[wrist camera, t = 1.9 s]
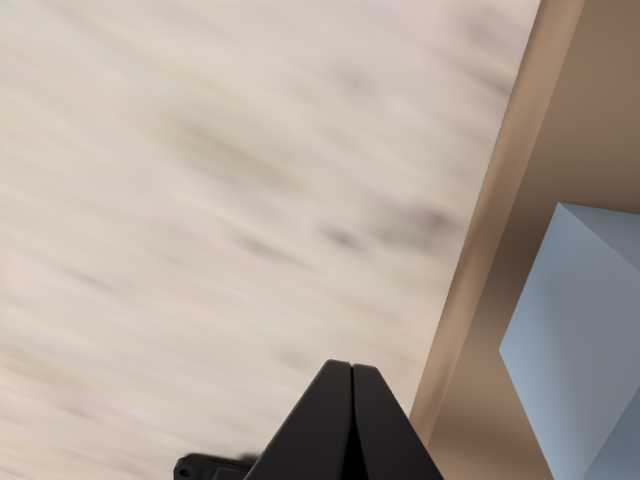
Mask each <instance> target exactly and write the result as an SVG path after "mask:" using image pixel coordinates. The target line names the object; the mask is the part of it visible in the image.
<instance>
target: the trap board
mask: <svg viewBox="0 0 640 480" xmlns="http://www.w3.org/2000/svg"><path fill="white" fill-rule="evenodd" d="M558 202H562V203H568V204H575V205H581V206H587V207H594V208H600V209H606V210H613V211H619V212H625V213H632V214H638V215H640V0H541V2H540V5H539V9H538V12H537V15H536V18H535V21H534V24H533V28H532V31H531V34H530V37H529V40H528V43H527V47H526V50H525V53H524V56H523V59H522V62H521V66H520V69H519V72H518V75H517V78H516V81H515V85H514V88H513V91H512V94H511V97H510V100H509V104H508V107H507V110H506V113H505V116H504V119H503V122H502V126H501V129H500V132H499V135H498V138H497V141H496V145H495V148H494V151H493V154H492V157H491V160H490V164H489V167H488V170H487V173H486V176H485V179H484V183H483V186H482V189H481V192H480V195H479V198H478V202H477V205H476V208H475V211H474V214H473V217H472V221H471V224H470V227H469V230H468V233H467V236H466V240H465V243H464V246H463V249H462V252H461V255H460V259H459V262H458V265H457V268H456V271H455V274H454V278H453V281H452V284H451V287H450V290H449V293H448V297H447V300H446V303H445V306H444V309H443V312H442V316H441V319H440V322H439V325H438V328H437V331H436V335H435V338H434V341H433V344H432V347H431V350H430V354H429V357H428V360H427V363H426V366H425V369H424V373H423V376H422V379H421V382H420V385H419V388H418V391H417V395H416V398H415V401H414V404H413V407H412V410H411V414H410V417H409V421H410V423H411V425H412V426H413V428H414V430H415V431H416V433H417V435H418V436H419V438H420V440H421V441H422V443H423V445H424V446H425V448H426V450H427V451H428V453H429V454H430V456H431V458H432V459H433V461H434V463H435V464H436V466H437V468H438V469H439V471H440V473H441V474H442V476H443V478H444V479H445V480H554V478H553V475H552V473H551V471H550V468H549V466H548V464H547V461H546V459H545V457H544V454H543V452H542V450H541V447H540V445H539V443H538V440H537V438H536V436H535V433H534V431H533V429H532V426H531V424H530V422H529V419H528V417H527V415H526V412H525V410H524V408H523V405H522V403H521V401H520V398H519V396H518V394H517V391H516V389H515V387H514V384H513V382H512V380H511V377H510V375H509V373H508V370H507V368H506V366H505V363H504V361H503V359H502V356H501V354H500V352H499V348H500V345H501V343H502V340H503V338H504V335H505V333H506V330H507V328H508V325H509V323H510V320H511V318H512V315H513V313H514V311H515V308H516V306H517V303H518V301H519V298H520V296H521V293H522V291H523V288H524V286H525V283H526V281H527V278H528V276H529V273H530V271H531V268H532V266H533V264H534V261H535V259H536V256H537V254H538V251H539V249H540V246H541V244H542V241H543V239H544V236H545V234H546V231H547V229H548V226H549V224H550V221H551V219H552V216H553V214H554V212H555V209H556V207H557V204H558Z"/></svg>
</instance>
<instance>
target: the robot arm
mask: <svg viewBox="0 0 640 480" xmlns="http://www.w3.org/2000/svg"><path fill="white" fill-rule="evenodd" d="M174 480H445V479H444V478H443V476H442V474H441V473H440V471H439V469H438V468H437V466H436V464H435V463H434V461H433V459H432V458H431V456H430V454H429V453H428V451H427V450H426V448H425V446H424V445H423V443H422V441H421V440H420V438H419V436H418V435H417V433H416V431H415V430H414V428H413V426H412V425H411V423H410V421H409V420H408V418H407V416H406V415H405V413H404V411H403V410H402V408H401V407H400V405H399V403H398V402H397V400H396V398H395V397H394V395H393V393H392V392H391V390H390V388H389V387H388V385H387V383H386V382H385V380H384V378H383V377H382V375H381V373H380V372H379V370H378V369H377V368H376V367H374V366H368V365H362V364H353V366H351V364H350V363H349V362H344V361H338V360H332V359H329V360H327V361H326V362H325V364H324V365H323V367H322V368H321V369H320V371H319V372H318V374H317V375H316V377H315V378H314V379H313V381H312V382H311V384H310V385H309V387H308V388H307V390H306V391H305V392H304V394H303V395H302V397H301V398H300V400H299V401H298V402H297V404H296V405H295V407H294V408H293V410H292V411H291V412H290V414H289V415H288V417H287V418H286V420H285V421H284V423H283V424H282V425H281V427H280V428H279V430H278V431H277V433H276V434H275V435H274V437H273V438H272V440H271V441H270V443H269V444H268V446H267V447H266V448H265V450H264V451H263V453H262V454H261V456H260V457H259V458H258V460H257V461H256V463H255V464H254V466H253V467H252V468H248V467H242V466H236V465H230V464H225V463H219V462H213V461H207V460H201V459H195V458H189V457H183V458H180V459H179V460H178V461H177V463H176V466H175V468H174Z"/></svg>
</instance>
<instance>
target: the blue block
mask: <svg viewBox="0 0 640 480" xmlns="http://www.w3.org/2000/svg"><path fill="white" fill-rule="evenodd" d="M499 352H500V354H501V356H502V359H503V361H504V363H505V366H506V368H507V370H508V373H509V375H510V377H511V380H512V382H513V384H514V387H515V389H516V391H517V394H518V396H519V398H520V401H521V403H522V405H523V408H524V410H525V412H526V415H527V417H528V419H529V422H530V424H531V426H532V429H533V431H534V433H535V436H536V438H537V440H538V443H539V445H540V447H541V450H542V452H543V454H544V457H545V459H546V461H547V464H548V466H549V468H550V471H551V473H552V475H553V478H554V480H640V215H638V214H632V213H625V212H619V211H613V210H606V209H600V208H594V207H587V206H581V205H575V204H568V203H562V202H558V204H557V207H556V209H555V212H554V214H553V216H552V219H551V221H550V224H549V226H548V229H547V231H546V234H545V236H544V239H543V241H542V244H541V246H540V249H539V251H538V254H537V256H536V259H535V261H534V264H533V266H532V268H531V271H530V273H529V276H528V278H527V281H526V283H525V286H524V288H523V291H522V293H521V296H520V298H519V301H518V303H517V306H516V308H515V311H514V313H513V315H512V318H511V320H510V323H509V325H508V328H507V330H506V333H505V335H504V338H503V340H502V343H501V345H500V348H499Z"/></svg>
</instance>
